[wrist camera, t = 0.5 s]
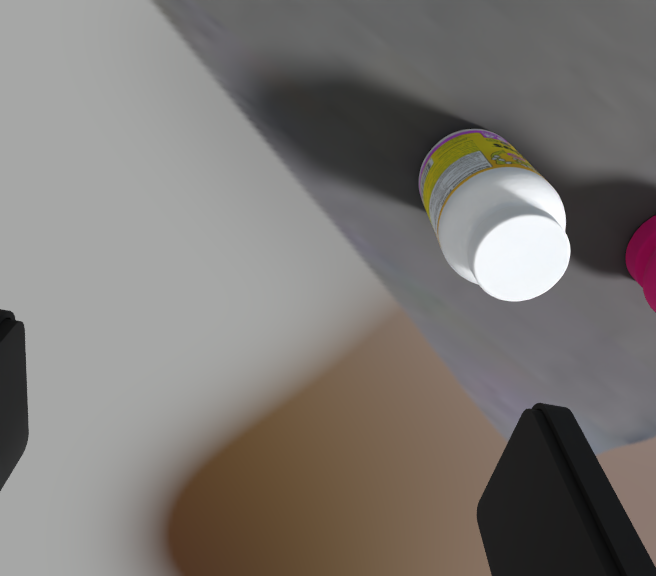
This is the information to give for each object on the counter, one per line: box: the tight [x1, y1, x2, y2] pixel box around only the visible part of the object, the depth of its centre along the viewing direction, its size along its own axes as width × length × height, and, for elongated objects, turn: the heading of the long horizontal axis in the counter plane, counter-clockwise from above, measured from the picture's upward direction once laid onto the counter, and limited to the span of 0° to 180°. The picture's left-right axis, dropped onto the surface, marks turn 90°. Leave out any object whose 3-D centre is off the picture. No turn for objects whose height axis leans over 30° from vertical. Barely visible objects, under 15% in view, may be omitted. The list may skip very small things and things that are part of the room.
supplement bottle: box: [419, 129, 570, 301], centre depth 34 cm, size 7×7×13 cm
